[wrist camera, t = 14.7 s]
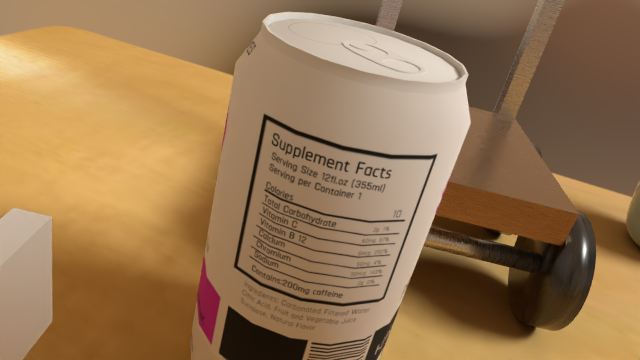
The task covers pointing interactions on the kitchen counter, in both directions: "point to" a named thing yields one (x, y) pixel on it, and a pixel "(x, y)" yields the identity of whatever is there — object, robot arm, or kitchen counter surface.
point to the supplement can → (325, 189)
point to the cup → (634, 217)
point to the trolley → (516, 197)
